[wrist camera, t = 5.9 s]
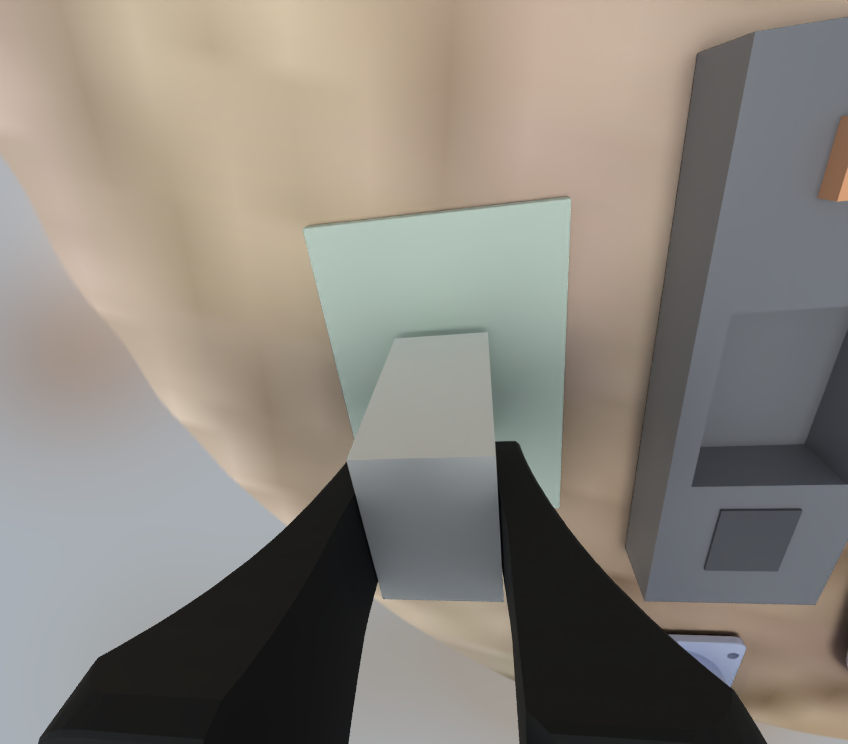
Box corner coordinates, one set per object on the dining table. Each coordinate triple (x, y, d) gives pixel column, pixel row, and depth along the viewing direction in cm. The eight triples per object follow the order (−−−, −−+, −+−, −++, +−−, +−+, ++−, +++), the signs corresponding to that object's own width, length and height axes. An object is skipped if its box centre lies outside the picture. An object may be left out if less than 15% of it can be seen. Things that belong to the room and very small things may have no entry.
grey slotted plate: (774, 548, 18) (826, 620, 15) (625, 547, 19) (649, 615, 16) (984, 8, 10) (1180, -41, 7) (697, 53, 11) (773, 24, 8)
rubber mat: (557, 499, 18) (559, 508, 18) (373, 501, 19) (371, 509, 19) (567, 196, 12) (571, 198, 12) (307, 225, 14) (302, 228, 13)
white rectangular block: (493, 445, 16) (503, 601, 10) (413, 448, 16) (382, 599, 11) (487, 331, 13) (496, 456, 8) (394, 338, 14) (346, 459, 9)
